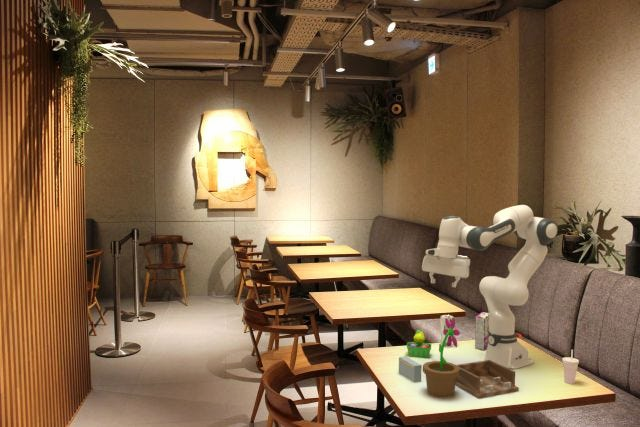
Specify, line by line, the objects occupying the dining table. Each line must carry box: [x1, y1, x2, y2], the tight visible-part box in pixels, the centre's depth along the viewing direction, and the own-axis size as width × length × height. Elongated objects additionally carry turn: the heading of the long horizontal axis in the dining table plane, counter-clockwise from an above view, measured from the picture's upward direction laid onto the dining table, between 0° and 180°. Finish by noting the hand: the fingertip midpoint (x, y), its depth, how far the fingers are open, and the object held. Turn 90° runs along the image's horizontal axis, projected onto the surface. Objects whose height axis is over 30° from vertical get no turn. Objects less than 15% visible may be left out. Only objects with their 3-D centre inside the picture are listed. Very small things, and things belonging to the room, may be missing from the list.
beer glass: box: [439, 314, 455, 349], centre depth 278 cm, size 7×7×15 cm
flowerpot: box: [422, 317, 460, 398], centre depth 217 cm, size 14×14×30 cm
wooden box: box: [455, 360, 520, 400], centre depth 224 cm, size 20×17×8 cm
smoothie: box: [561, 349, 580, 385], centre depth 230 cm, size 6×6×14 cm
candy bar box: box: [474, 311, 489, 351], centre depth 277 cm, size 11×5×16 cm, turn 148°
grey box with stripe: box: [398, 355, 423, 383], centre depth 234 cm, size 12×4×7 cm, turn 24°
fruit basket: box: [406, 329, 433, 359], centre depth 263 cm, size 11×9×11 cm
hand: (443, 285), depth 238 cm, fingers open, 8 cm apart
